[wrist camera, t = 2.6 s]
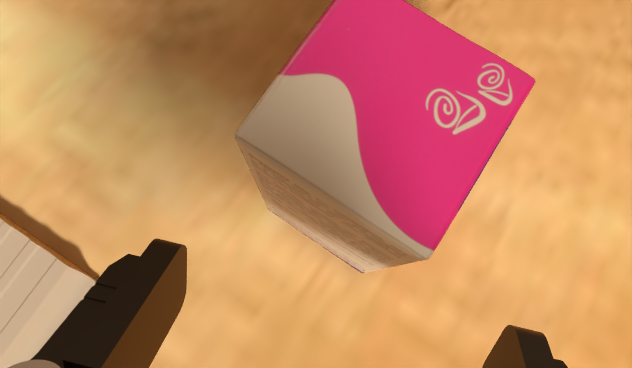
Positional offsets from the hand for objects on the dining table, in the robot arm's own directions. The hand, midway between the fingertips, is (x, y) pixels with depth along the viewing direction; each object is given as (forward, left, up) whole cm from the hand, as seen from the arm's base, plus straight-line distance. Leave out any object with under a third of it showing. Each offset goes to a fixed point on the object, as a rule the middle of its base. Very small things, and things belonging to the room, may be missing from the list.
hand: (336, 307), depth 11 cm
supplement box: (0, +5, -10) cm, 12 cm away
